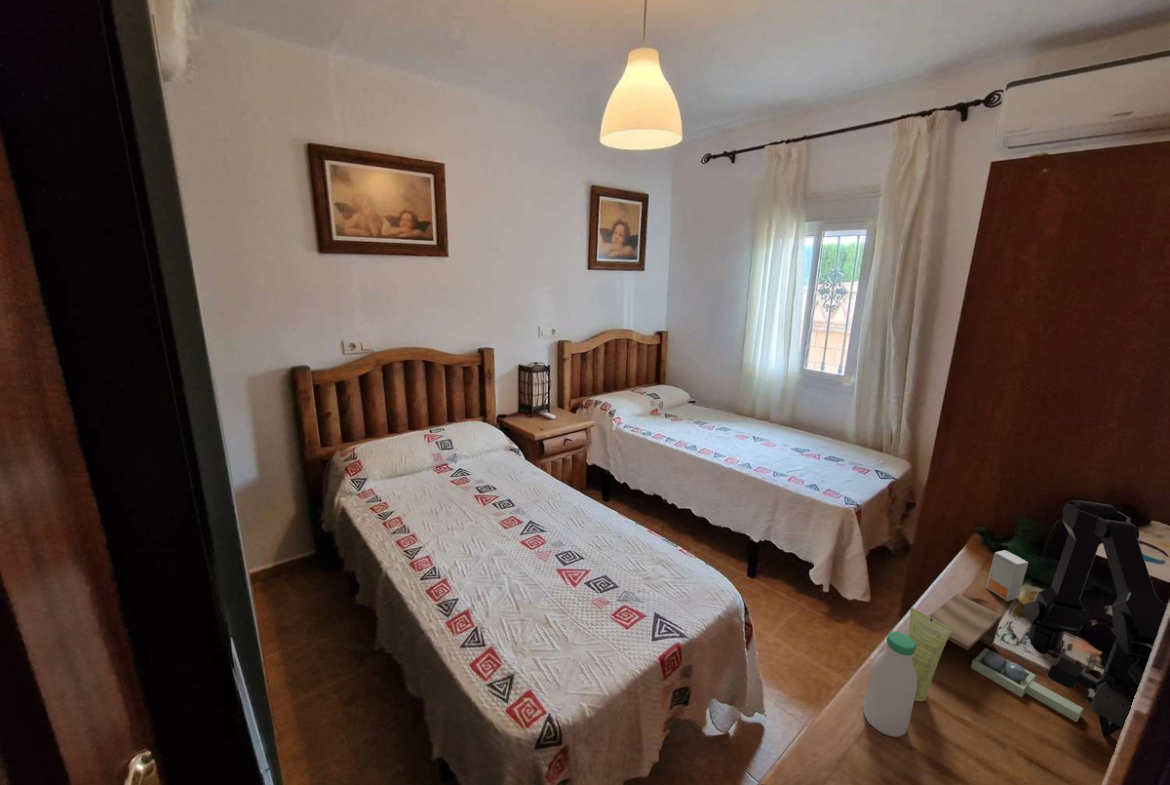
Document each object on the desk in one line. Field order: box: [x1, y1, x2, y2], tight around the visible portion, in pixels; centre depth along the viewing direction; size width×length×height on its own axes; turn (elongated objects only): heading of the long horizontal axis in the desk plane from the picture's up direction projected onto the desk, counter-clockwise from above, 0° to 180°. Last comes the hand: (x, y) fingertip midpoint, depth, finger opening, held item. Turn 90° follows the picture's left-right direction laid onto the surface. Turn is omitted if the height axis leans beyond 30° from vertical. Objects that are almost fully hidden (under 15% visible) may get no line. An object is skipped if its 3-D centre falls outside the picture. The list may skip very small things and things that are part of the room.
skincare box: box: [985, 549, 1029, 602], centre depth 132 cm, size 6×4×12 cm
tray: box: [970, 647, 1084, 723], centre depth 102 cm, size 7×17×3 cm, turn 32°
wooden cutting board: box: [928, 593, 1002, 651], centre depth 112 cm, size 18×9×10 cm, turn 122°
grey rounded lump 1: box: [983, 650, 1004, 673], centre depth 107 cm, size 3×3×4 cm
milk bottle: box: [862, 631, 917, 738], centre depth 94 cm, size 8×8×20 cm
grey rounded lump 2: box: [1003, 661, 1026, 685], centre depth 104 cm, size 3×3×4 cm
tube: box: [907, 607, 953, 702], centre depth 100 cm, size 6×5×20 cm
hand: (1105, 733), depth 93 cm, fingers closed
